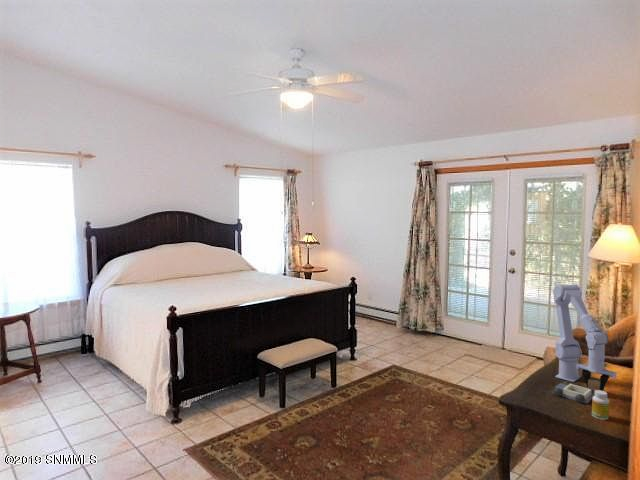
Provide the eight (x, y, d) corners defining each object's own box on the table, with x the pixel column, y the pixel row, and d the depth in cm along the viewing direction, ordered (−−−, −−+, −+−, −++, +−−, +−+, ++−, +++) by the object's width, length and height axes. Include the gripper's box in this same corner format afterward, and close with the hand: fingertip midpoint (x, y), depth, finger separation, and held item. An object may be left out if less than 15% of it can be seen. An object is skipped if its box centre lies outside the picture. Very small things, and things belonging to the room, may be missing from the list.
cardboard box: (590, 389, 185) (591, 376, 184) (602, 393, 181) (603, 379, 181) (587, 392, 182) (588, 379, 181) (599, 396, 178) (599, 382, 178)
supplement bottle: (602, 421, 157) (603, 396, 156) (588, 415, 162) (589, 390, 161) (611, 418, 159) (612, 393, 159) (597, 412, 164) (598, 388, 164)
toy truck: (561, 386, 188) (561, 379, 188) (595, 396, 178) (595, 388, 178) (551, 394, 180) (551, 387, 180) (585, 404, 171) (585, 397, 170)
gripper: (574, 356, 183) (573, 386, 184) (613, 365, 172) (612, 397, 173) (579, 352, 188) (578, 382, 189) (618, 361, 177) (617, 392, 178)
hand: (595, 389), depth 181 cm, fingers closed on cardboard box, 4 cm apart
